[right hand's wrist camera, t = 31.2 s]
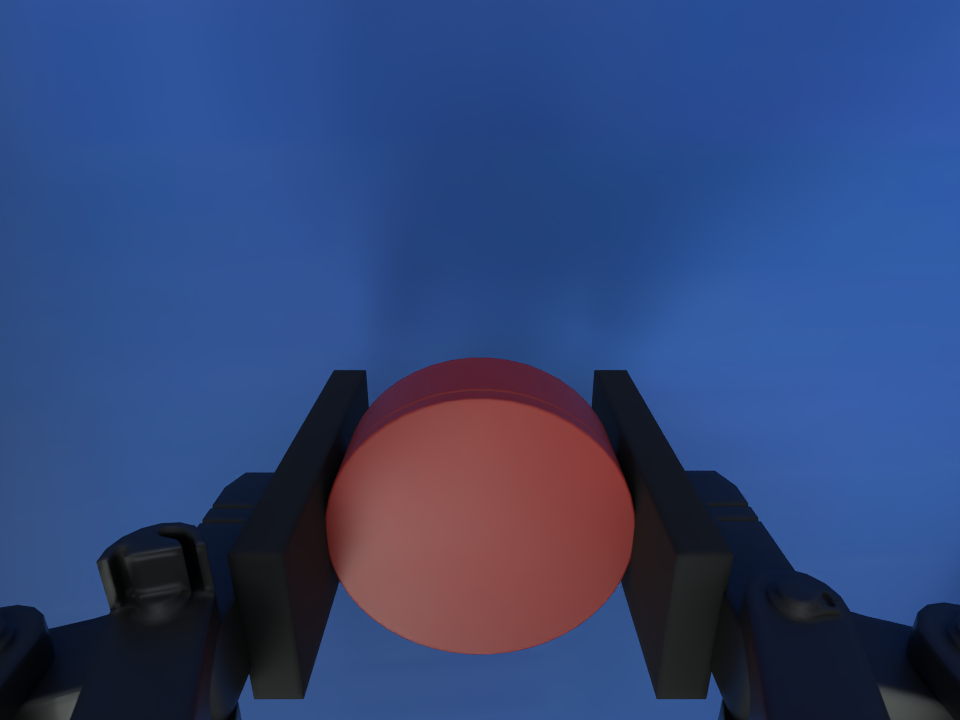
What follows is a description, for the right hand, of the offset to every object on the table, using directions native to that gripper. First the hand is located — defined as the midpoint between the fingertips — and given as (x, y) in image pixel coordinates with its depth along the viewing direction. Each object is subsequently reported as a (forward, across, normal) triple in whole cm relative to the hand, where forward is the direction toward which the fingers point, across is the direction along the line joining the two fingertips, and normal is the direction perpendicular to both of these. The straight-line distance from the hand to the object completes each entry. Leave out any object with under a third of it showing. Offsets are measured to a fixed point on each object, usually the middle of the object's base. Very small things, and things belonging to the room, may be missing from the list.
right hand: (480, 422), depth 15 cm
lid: (-4, 0, 0) cm, 4 cm away
